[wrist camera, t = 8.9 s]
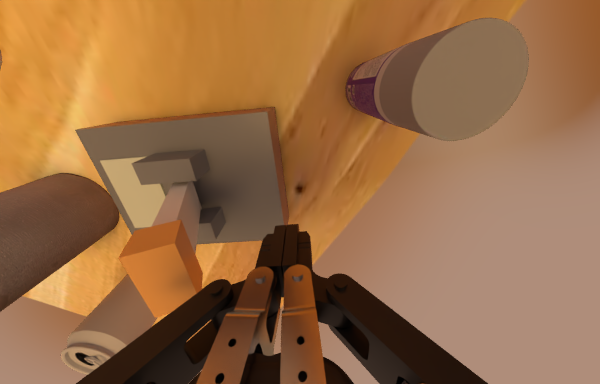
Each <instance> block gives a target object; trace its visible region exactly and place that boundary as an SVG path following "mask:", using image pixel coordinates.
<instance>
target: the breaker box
mask: <svg viewBox="0 0 600 384" xmlns="http://www.w3.org/2000/svg"><path fill="white" fill-rule="evenodd" d="M75 131H76V133H77V134H78V136H79V138H80V140H81V142H82V144H83V145H84V147H85V149H86V151H87V153H88V155H89V157H90V158H91V160H92V162H93V164H94V166H95V168H96V169H97V171H98V173H99V175H100V177H101V179H102V180H103V182H104V184H105V186H106V188H107V190H108V191H109V193H110V195H111V197H112V199H113V201H114V203H115V204H116V206H117V208H118V210H119V212H120V214H121V215H122V217H123V219H124V221H125V223H126V225H127V226H128V228H129V230H130V232H131V234H132V235H133V233H134V231H135V230H139V229H144V228H148V227H151V226H152V224H153V222H154V220H155V218H156V216H157V214H158V212H159V210H160V208H161V206H162V204H163V202H164V200H165V198H166V196H167V194H168V192H169V190H170V187H171V185H172V183H175V182H188V181H193V184H194V187H195V189H196V192H197V195H198V198H199V201H200V204H201V207H202V209H201V211H200V219H199V227H198V235H197V243H196V244H210V243H227V242H243V241H259V240H263V239H264V237H265V236H266V235H267V234H273V233H274V229H275V226H277V225H288V219H289V212H288V205H287V197H286V190H285V182H284V175H283V167H282V160H281V152H280V145H279V137H278V130H277V122H276V115H275V107H270V108H259V109H249V110H238V111H228V112H218V113H207V114H197V115H186V116H176V117H166V118H155V119H145V120H134V121H124V122H116V123H110V124H105V125H99V126H94V127H88V128H82V129H77V130H75Z"/></svg>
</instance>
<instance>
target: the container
mask: <svg viewBox="0 0 600 384" xmlns="http://www.w3.org/2000/svg"><path fill="white" fill-rule="evenodd" d="M528 60H529V57H528V48H527V45H526V42H525V40H524V37H523V36H522V34H521V33H520V31H519V30H518V29H517V28H516V27H514V26H513V25H512V24H510V23H508V22H507V21H504V20H501V19H496V18H482V19H476V20H472V21H469V22H466V23H464V24H461V25H458V26H455V27H453V28H450V29H447V30H444V31H442V32H439V33H436V34H433V35H431V36H428V37H425V38H422V39H420V40H417V41H414V42H411V43H408V44H406V45H404V46H401V47H399V48H397V49H394V50H392V51H390V52H388V53H385V54H383V55H381V56H378V57H376V58H374V59H371V60H369V61H367V62H365V63H362V64H361V65H359V66H357V67H356V68H355V69H354V70H353V71H352V72H351V74H350V76H349V77H348V80H347V83H346V97H347V100H348V102H349V103H350V104H351V106H352V107H354V108H355V109H357V110H359V111H361V112H364V113H366V114H369V115H371V116H373V117H376V118H378V119H381V120H383V121H386V122H388V123H390V124H393V125H396V126H400V127H403V128H406V129H409V130H412V131H415V132H418V133H421V134H424V135H427V136H430V137H434V138H437V139H440V140H446V141H456V140H462V139H466V138H469V137H472V136H475V135H477V134H479V133H481V132H483V131H485V130H486V129H488V128H489V127H490V126H492V125H493V124H494V123H496V122H497V121H498V120H499V119H500V118H501V117H502V116H503V115H504V114H505V113H506V112H507V111H508V110H509V109H510V107H511V106H512V104H513V103H514V102H515V100H516V99H517V97H518V95H519V93H520V91H521V89H522V87H523V84H524V82H525V79H526V75H527V71H528Z"/></svg>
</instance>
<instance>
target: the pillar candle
mask: <svg viewBox="0 0 600 384" xmlns="http://www.w3.org/2000/svg"><path fill="white" fill-rule="evenodd" d="M118 221H119V212H118V208H117V206H116V204H115V203H114V201H113V199H112V197H111V196H110V195H109V194H108V193H107V192H106V191H105V190H104V189H103V188H102V187H101V186H100V185H98V184H97V183H95V182H94V181H92V180H90V179H87V178H84V177H80V176H76V175H72V174H65V173H60V174H56V175H52V176H48V177H44V178H42V179H39V180H36V181H33V182H31V183H28V184H25V185H22V186H19V187H16V188H13V189H10V190H7V191H4V192H1V193H0V311H2V310H3V309H5V308H6V307H7V306H9V305H10V304H12V303H13V302H14V301H16V300H17V299H18V298H20V297H21V296H22V295H24V294H25V293H26V292H28V291H29V290H31V289H32V288H33V287H35V286H36V285H37V284H39V283H40V282H41V281H43V280H44V279H46V278H47V277H48V276H50V275H51V274H52V273H54V272H55V271H57V270H58V269H59V268H61V267H62V266H63V265H65V264H66V263H68V262H69V261H70V260H72V259H73V258H75V257H76V256H77V255H79V254H80V253H81V252H83V251H84V250H85V249H87V248H88V247H90V246H91V245H92V244H94V243H95V242H96V241H98V240H99V239H100V238H102V237H103V236H104V235H106V234H107V233H109V232H110V231H111V230H112V229H113V228H114V227H115V226H116V225H117V223H118Z"/></svg>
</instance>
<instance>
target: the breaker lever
mask: <svg viewBox="0 0 600 384" xmlns="http://www.w3.org/2000/svg"><path fill="white" fill-rule="evenodd" d="M201 209H202V207H201V204H200V201H199V198H198V195H197V192H196V189H195V187H194V184H193V181H188V182H175V183H172V185H171V187H170V190H169V192H168V194H167V196H166V198H165V200H164V202H163V204H162V206H161V208H160V210H159V212H158V214H157V216H156V218H155V220H154V222H153V224H152V226H151V227H148V228H144V229H139V230H135V231H134V233H133V235H132V236H131V238H130V240H129V241H128V243H127V245H126V246H125V248H124V250H123V251H122V253H121V255H120V256H119V258H118V259H119V260H120V262H121V264H122V265H123V267H124V268H125V270H126V272H127V273H128V275H129V277H130V278H131V280H132V281H133V283H134V285H135V286H136V288H137V290H138V291H139V293H140V294H141V296H142V298H143V299H144V301H145V303H146V304H147V306H148V307H149V309H150V311H151V312H152V314H153V316H154V317H155V318H156V317H159V316H162V315H165V314H168V313H171V312H172V311H174V310H175V309H176V308H178V307H179V306H180V305H182V304H183V303H184V302H186V301H187V300H189V299H190V298H191V297H193V296H194V295H195V294H197V293H198V292H199V291H201V290H202V275H203V273H202V270H201V268H200V265H199V263H198V260H197V258H196V255H195V251H196V243H197V235H198V227H199V219H200V211H201Z"/></svg>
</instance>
